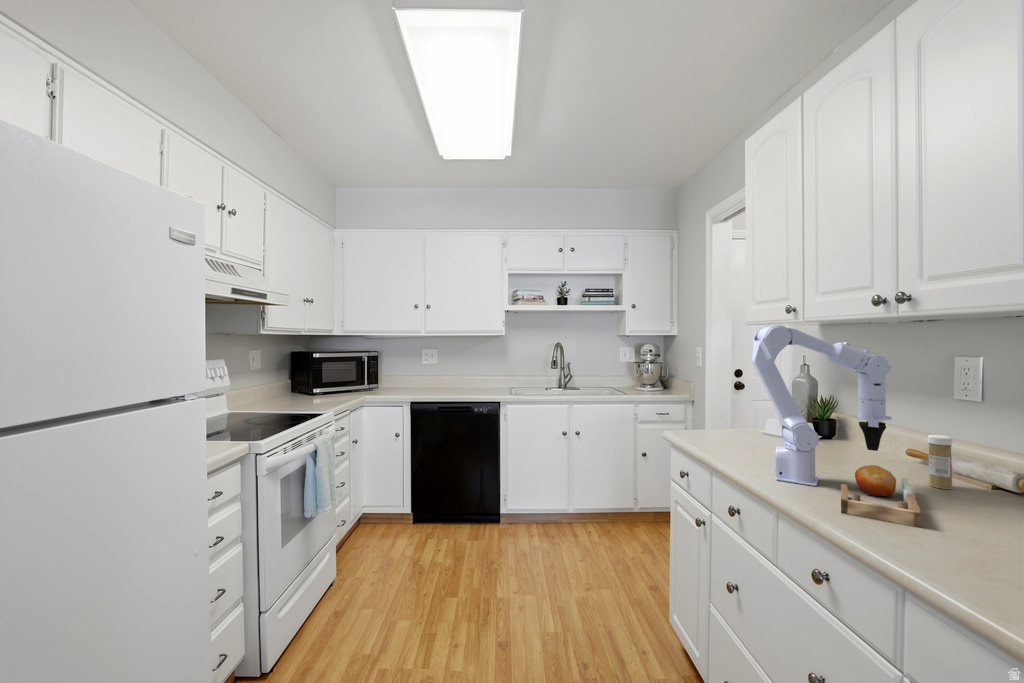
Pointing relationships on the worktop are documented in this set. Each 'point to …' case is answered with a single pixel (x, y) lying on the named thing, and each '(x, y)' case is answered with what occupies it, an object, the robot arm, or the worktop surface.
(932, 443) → the sprinkles bottle
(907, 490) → the gate
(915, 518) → the cradle
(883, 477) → the fruit
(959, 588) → the worktop surface
